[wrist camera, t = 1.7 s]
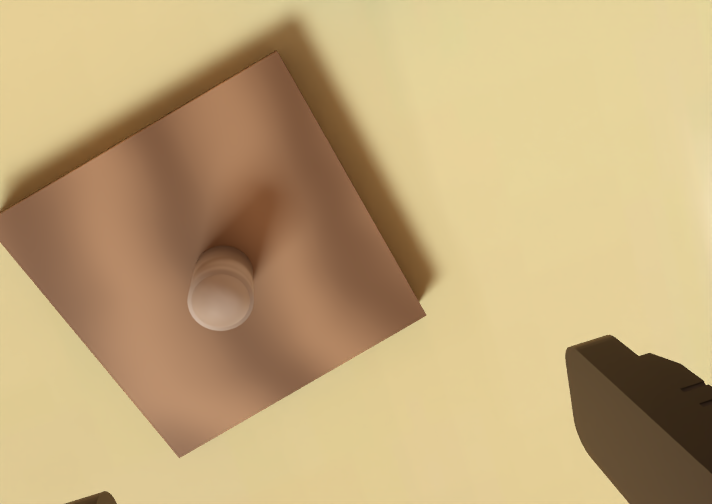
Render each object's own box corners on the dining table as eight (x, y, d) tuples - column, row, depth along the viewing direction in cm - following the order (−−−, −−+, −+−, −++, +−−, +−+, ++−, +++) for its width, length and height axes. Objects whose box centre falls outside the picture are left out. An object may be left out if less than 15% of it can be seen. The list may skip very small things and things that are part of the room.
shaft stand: (275, 50, 27) (282, 52, 22) (418, 303, 32) (451, 353, 27) (-2, 214, 27) (-60, 253, 22) (182, 439, 32) (169, 515, 27)
